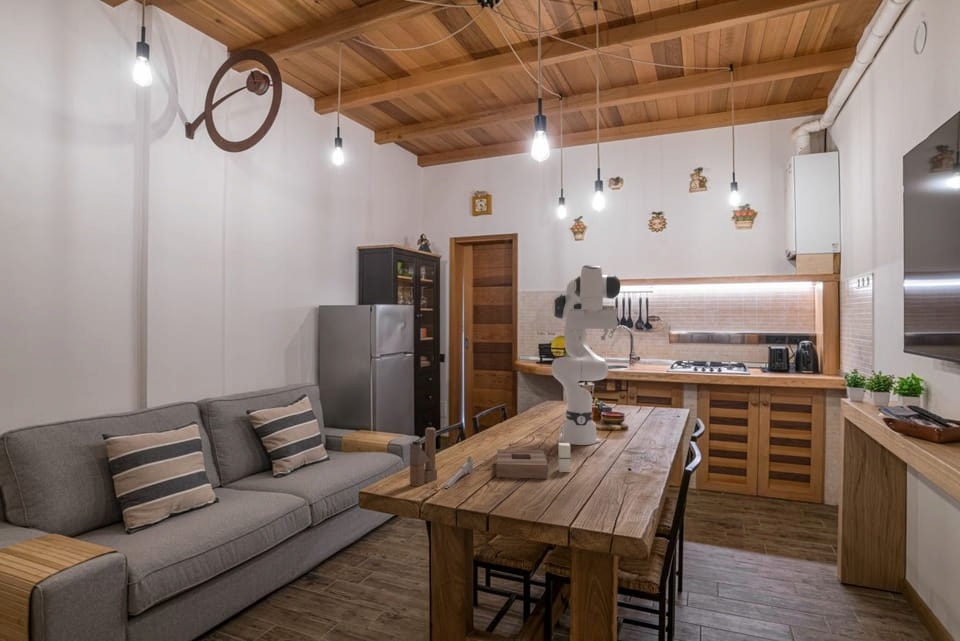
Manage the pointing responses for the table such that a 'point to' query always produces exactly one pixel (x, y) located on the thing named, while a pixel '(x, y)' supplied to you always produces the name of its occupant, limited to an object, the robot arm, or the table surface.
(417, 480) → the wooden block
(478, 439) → the table surface
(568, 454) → the square peg
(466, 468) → the caliper
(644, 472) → the table surface
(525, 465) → the socket block
